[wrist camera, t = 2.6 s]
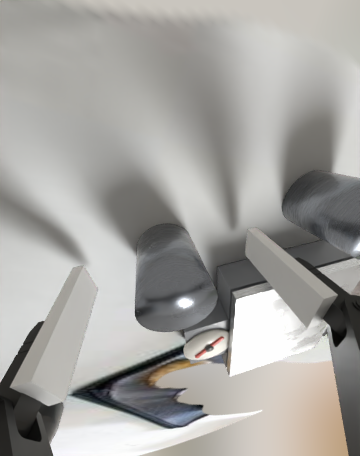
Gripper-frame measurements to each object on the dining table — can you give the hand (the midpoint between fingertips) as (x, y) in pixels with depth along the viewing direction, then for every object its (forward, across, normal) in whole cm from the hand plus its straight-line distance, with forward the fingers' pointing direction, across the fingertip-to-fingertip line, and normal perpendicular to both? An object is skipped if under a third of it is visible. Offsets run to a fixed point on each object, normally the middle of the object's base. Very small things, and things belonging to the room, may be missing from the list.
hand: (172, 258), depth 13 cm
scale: (+2, +9, -13) cm, 16 cm away
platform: (-1, +12, -13) cm, 18 cm away
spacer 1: (+2, 0, 0) cm, 2 cm away
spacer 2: (+2, +14, +2) cm, 14 cm away
